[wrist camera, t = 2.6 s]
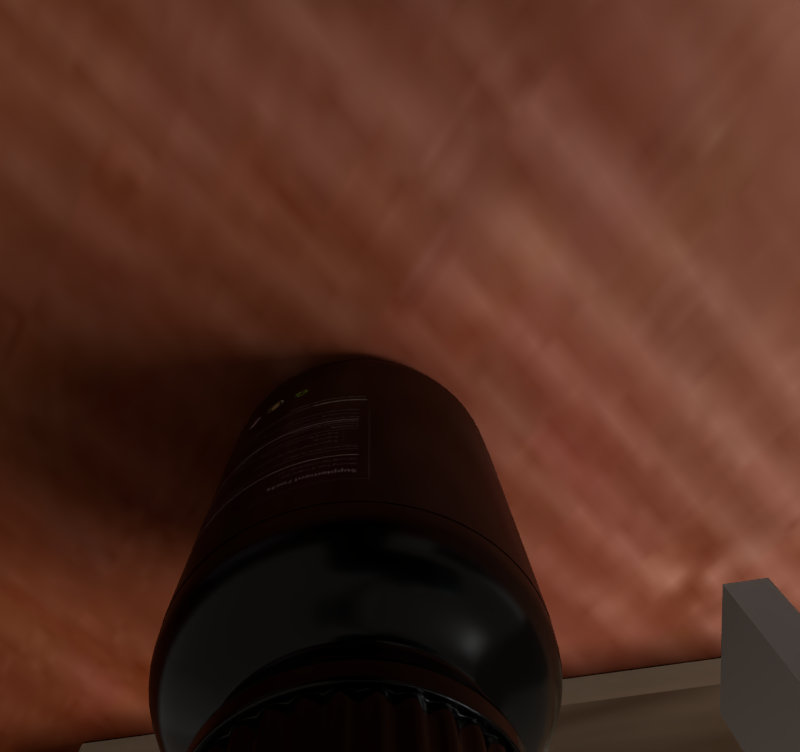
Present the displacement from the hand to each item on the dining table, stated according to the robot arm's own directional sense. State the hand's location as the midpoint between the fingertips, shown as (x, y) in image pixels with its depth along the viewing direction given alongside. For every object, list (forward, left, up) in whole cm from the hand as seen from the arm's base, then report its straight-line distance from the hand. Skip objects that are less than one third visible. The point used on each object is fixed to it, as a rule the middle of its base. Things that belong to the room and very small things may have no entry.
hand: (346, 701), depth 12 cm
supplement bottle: (0, 0, -8) cm, 8 cm away
